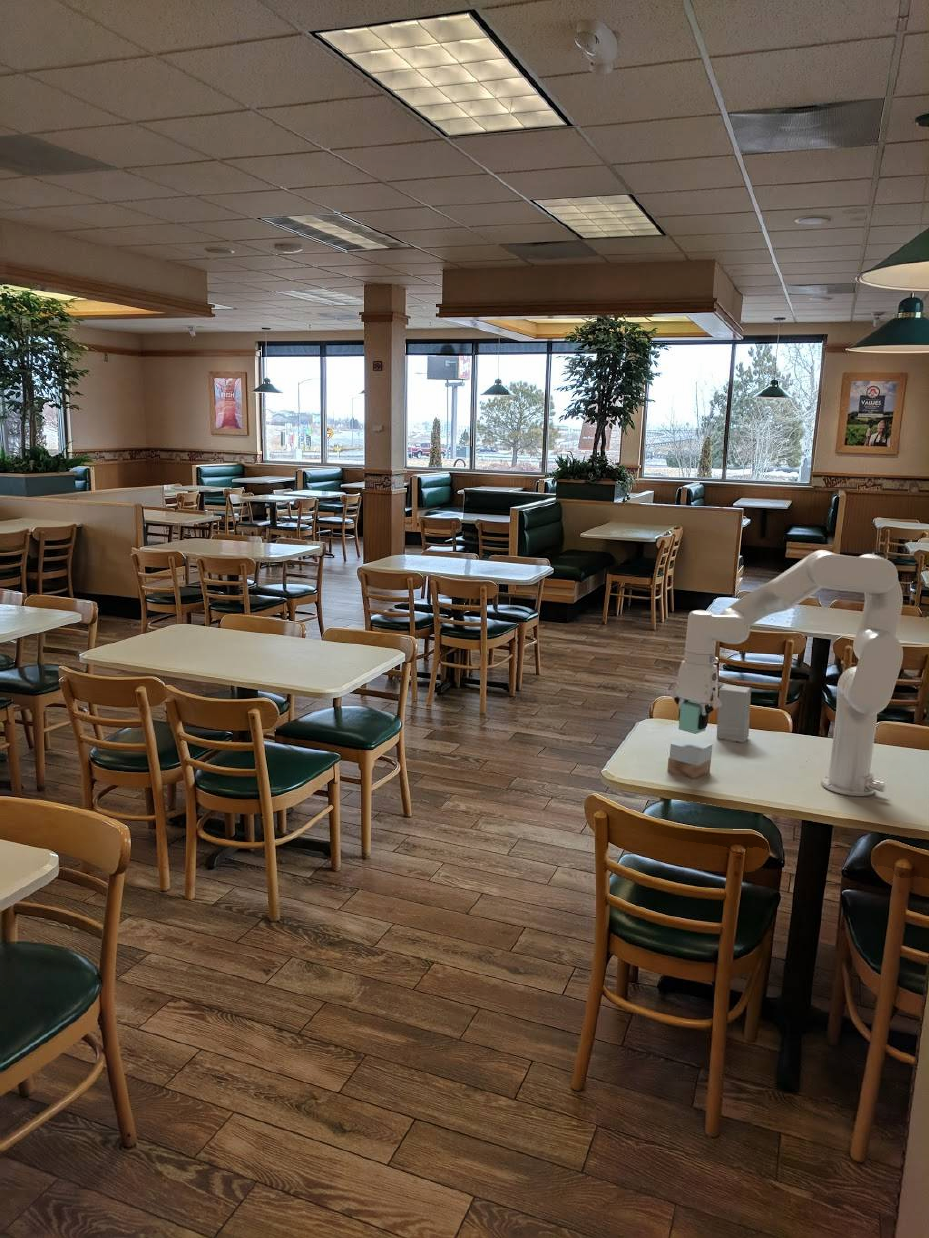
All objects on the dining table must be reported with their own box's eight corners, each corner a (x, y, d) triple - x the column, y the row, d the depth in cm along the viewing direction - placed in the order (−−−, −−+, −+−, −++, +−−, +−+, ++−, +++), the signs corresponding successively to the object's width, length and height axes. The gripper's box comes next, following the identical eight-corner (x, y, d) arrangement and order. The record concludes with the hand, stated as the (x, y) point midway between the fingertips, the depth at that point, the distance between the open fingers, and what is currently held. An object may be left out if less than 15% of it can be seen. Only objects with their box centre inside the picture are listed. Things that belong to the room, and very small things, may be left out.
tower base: (709, 773, 236) (711, 758, 235) (694, 780, 230) (695, 765, 230) (682, 765, 242) (684, 751, 241) (667, 772, 236) (668, 757, 235)
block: (705, 730, 234) (707, 704, 232) (695, 734, 230) (698, 707, 229) (688, 725, 237) (691, 700, 236) (678, 729, 234) (681, 703, 232)
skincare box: (748, 738, 267) (753, 687, 264) (742, 744, 261) (748, 692, 258) (720, 733, 271) (725, 682, 268) (713, 738, 265) (718, 687, 262)
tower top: (711, 758, 236) (712, 744, 235) (697, 765, 230) (698, 751, 229) (683, 751, 241) (684, 737, 240) (669, 758, 235) (670, 743, 234)
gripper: (736, 663, 227) (729, 731, 230) (678, 650, 239) (671, 715, 242) (721, 666, 222) (714, 736, 225) (662, 654, 233) (656, 720, 237)
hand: (692, 725), depth 234 cm, fingers closed on block, 5 cm apart
